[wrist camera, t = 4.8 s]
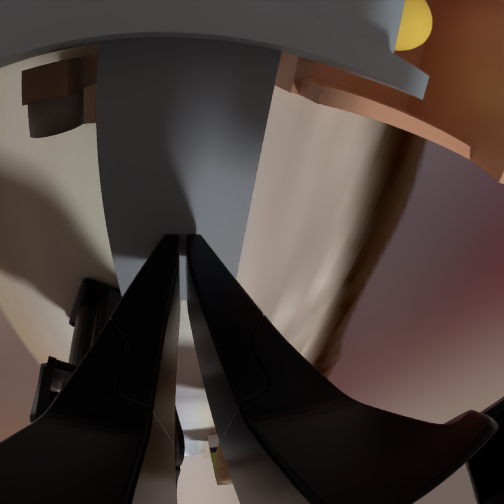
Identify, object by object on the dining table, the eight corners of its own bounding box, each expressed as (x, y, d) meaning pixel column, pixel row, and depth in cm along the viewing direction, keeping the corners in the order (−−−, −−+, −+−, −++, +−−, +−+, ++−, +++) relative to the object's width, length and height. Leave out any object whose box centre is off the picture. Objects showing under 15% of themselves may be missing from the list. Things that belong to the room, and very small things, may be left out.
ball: (370, 50, 7) (359, 57, 11) (457, 47, 6) (427, 51, 9) (334, -32, 5) (333, -7, 9) (423, -35, 4) (402, -12, 7)
